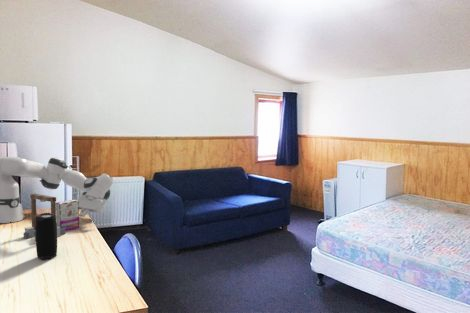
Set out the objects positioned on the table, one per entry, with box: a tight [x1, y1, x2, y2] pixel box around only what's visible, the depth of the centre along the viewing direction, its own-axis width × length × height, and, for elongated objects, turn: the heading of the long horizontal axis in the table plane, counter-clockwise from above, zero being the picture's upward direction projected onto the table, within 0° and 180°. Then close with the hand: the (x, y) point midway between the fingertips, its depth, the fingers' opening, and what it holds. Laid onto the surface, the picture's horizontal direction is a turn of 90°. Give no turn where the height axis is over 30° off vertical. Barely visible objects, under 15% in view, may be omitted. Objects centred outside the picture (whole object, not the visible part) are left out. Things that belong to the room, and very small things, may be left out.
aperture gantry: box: [29, 193, 57, 230], centre depth 191 cm, size 18×3×22 cm, turn 62°
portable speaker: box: [35, 212, 58, 261], centre depth 162 cm, size 9×9×20 cm
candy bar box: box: [56, 199, 80, 233], centre depth 204 cm, size 11×5×16 cm, turn 143°
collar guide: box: [23, 226, 66, 243], centre depth 192 cm, size 14×16×5 cm
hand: (81, 216), depth 212 cm, fingers closed
